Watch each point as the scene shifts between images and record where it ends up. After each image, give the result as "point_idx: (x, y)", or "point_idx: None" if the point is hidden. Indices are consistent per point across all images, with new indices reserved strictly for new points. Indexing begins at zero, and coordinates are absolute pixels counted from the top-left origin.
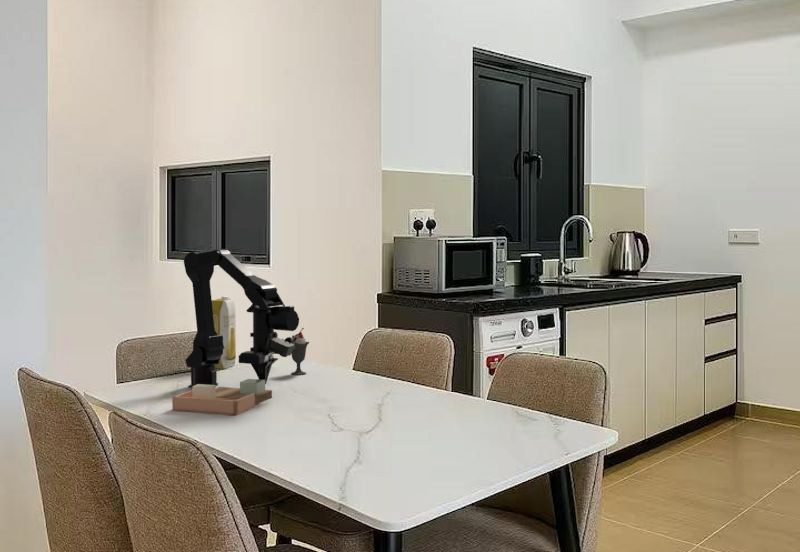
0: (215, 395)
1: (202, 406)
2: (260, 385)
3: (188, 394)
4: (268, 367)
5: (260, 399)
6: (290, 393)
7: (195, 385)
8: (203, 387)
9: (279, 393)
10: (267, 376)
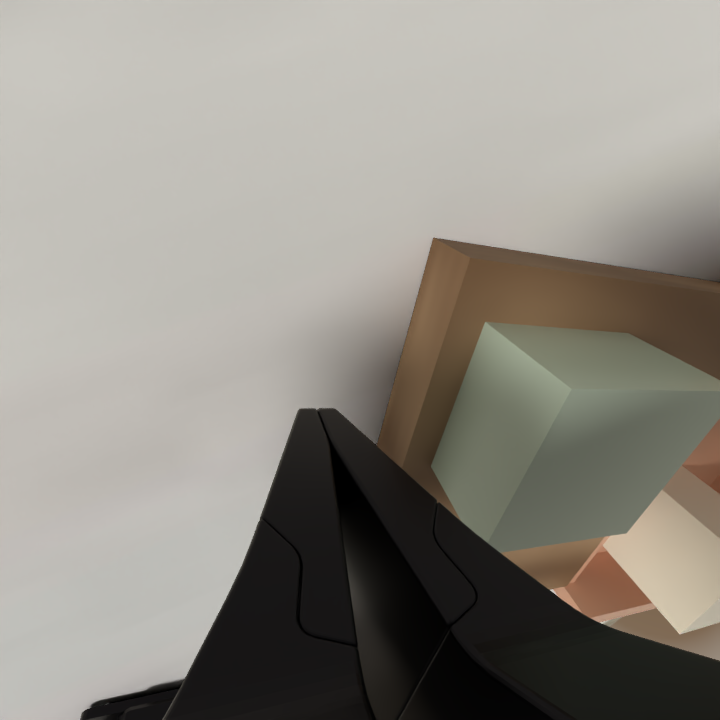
0: (685, 508)
1: None
2: (632, 364)
3: (631, 594)
4: (353, 624)
5: (640, 274)
6: (139, 47)
7: (711, 622)
8: None
9: (198, 222)
10: (314, 465)
